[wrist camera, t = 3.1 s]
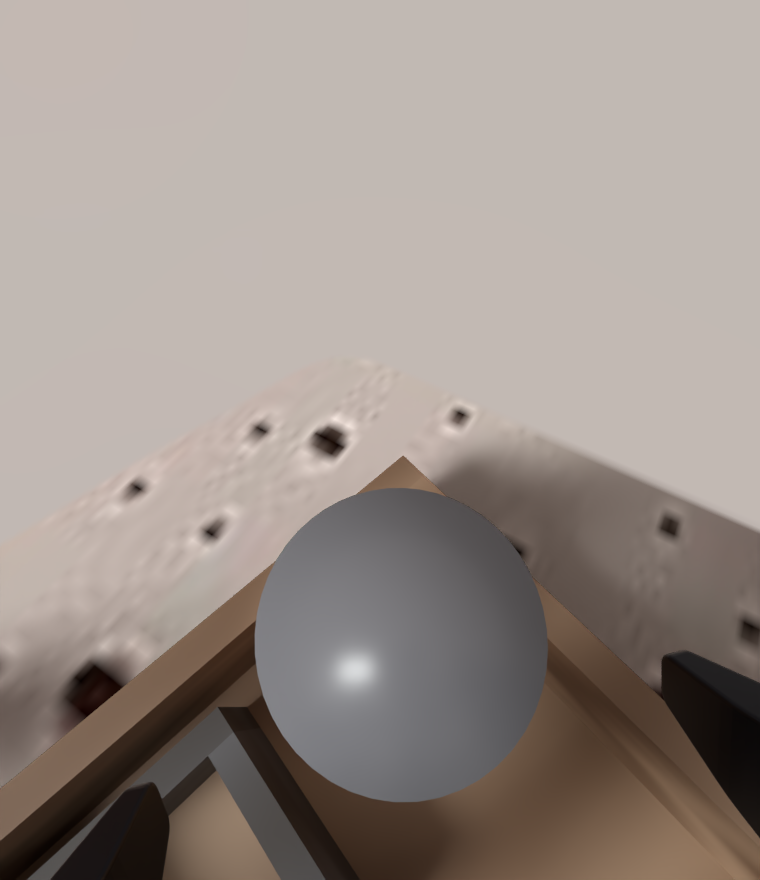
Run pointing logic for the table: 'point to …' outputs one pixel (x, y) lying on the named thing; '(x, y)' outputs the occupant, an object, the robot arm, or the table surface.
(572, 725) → the walled box
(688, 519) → the table surface
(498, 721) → the grey-capped orange cylinder
